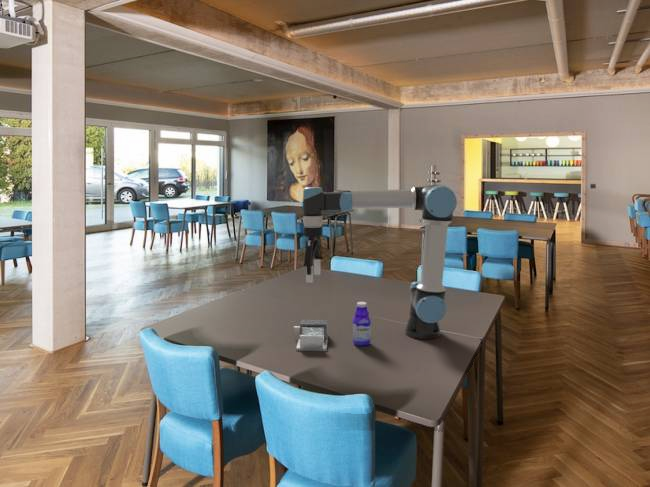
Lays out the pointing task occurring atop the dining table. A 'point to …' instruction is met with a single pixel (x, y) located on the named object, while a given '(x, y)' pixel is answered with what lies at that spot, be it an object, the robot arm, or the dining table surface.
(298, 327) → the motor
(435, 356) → the dining table surface
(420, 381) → the dining table surface
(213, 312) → the dining table surface
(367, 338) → the bottle
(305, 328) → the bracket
